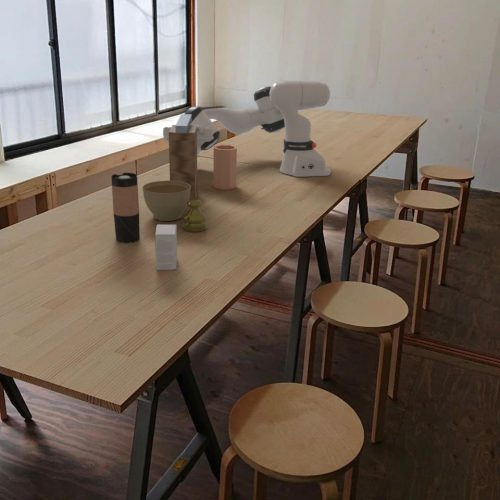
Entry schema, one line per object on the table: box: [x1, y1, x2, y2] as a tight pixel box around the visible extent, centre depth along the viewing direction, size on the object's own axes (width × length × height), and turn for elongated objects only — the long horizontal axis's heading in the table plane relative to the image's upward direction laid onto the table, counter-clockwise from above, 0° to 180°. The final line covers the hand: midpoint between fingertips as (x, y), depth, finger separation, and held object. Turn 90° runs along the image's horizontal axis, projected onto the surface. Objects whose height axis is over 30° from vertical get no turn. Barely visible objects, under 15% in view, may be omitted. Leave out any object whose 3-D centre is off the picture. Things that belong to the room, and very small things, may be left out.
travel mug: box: [111, 172, 141, 244], centre depth 178 cm, size 8×8×20 cm
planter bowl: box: [141, 180, 191, 222], centre depth 199 cm, size 16×16×11 cm
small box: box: [154, 224, 178, 271], centre depth 163 cm, size 8×6×10 cm
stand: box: [168, 124, 198, 200], centre depth 217 cm, size 9×14×26 cm, turn 1°
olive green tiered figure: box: [182, 198, 207, 233], centre depth 190 cm, size 7×7×10 cm
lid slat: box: [175, 113, 192, 133], centre depth 215 cm, size 24×4×2 cm, turn 1°
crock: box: [213, 144, 238, 191], centre depth 234 cm, size 9×9×16 cm
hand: (186, 127), depth 235 cm, fingers open, 8 cm apart
